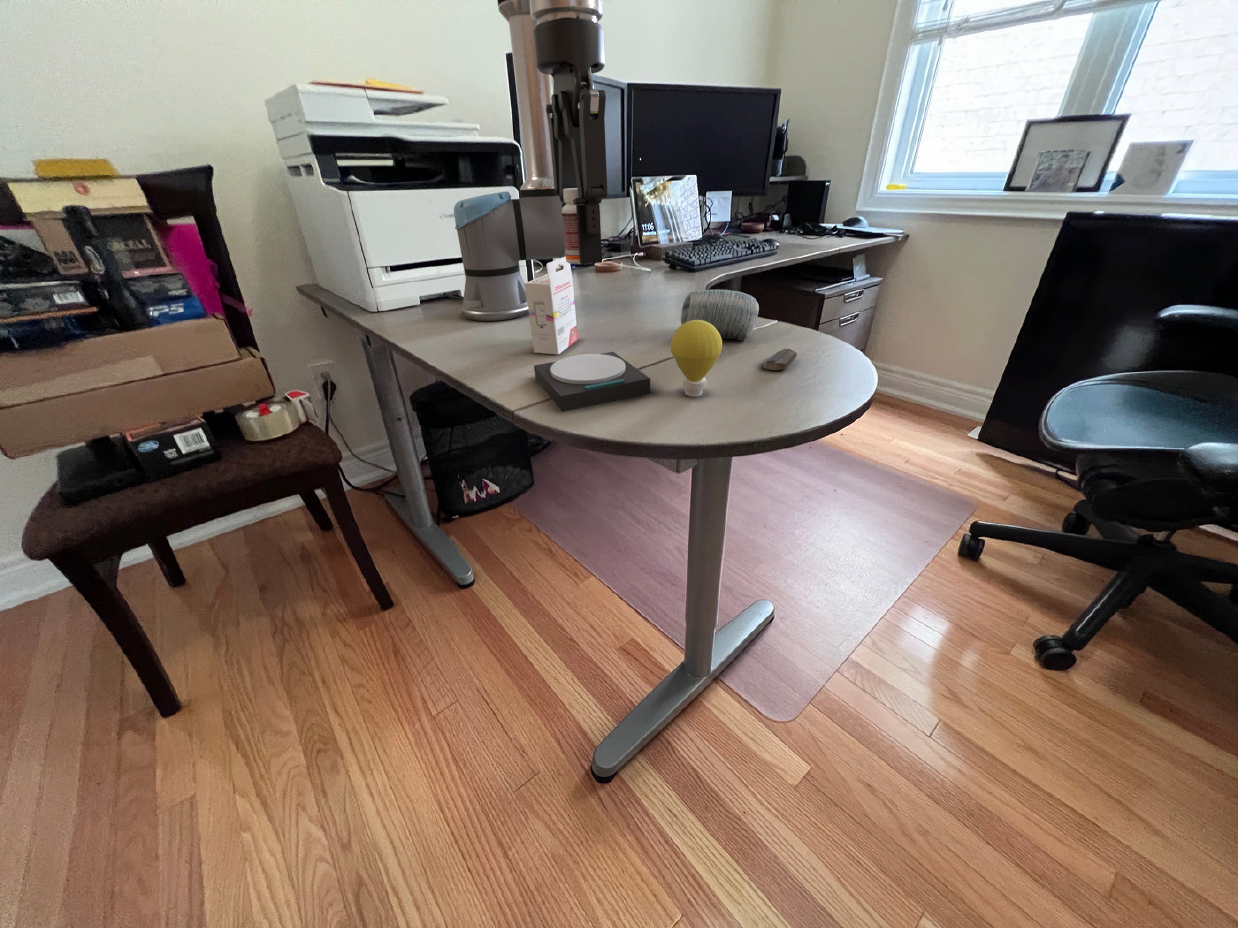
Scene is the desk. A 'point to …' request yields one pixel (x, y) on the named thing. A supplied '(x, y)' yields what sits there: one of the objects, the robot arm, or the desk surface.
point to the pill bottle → (570, 226)
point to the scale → (590, 380)
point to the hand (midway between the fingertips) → (583, 259)
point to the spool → (722, 311)
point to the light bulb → (695, 353)
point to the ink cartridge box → (552, 309)
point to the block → (780, 360)
